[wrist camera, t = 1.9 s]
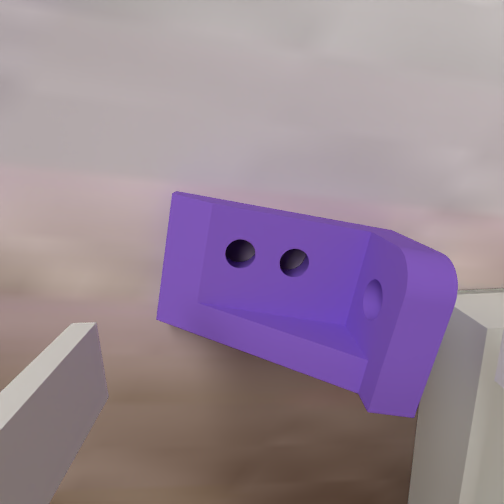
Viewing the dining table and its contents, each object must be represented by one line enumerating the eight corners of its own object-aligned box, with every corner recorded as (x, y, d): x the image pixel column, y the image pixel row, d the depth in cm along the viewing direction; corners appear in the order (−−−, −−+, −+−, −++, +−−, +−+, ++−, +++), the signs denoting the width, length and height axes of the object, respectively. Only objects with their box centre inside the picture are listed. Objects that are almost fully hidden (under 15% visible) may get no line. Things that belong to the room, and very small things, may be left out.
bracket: (389, 229, 19) (468, 265, 13) (358, 336, 21) (413, 418, 15) (177, 190, 18) (144, 208, 12) (162, 307, 20) (126, 380, 13)
